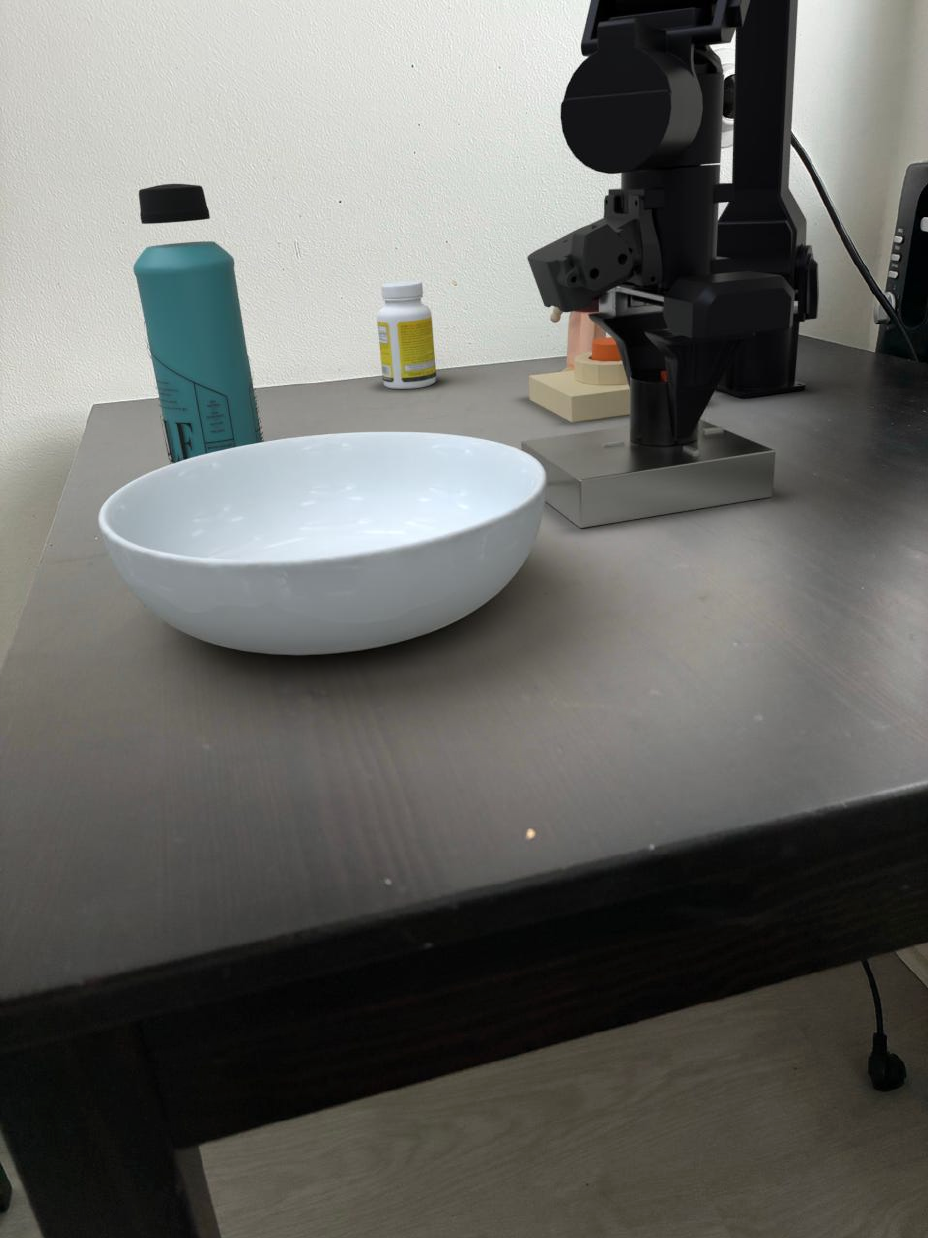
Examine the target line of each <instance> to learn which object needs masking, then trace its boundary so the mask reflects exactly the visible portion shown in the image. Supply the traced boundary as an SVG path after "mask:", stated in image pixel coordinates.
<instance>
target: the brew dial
mask: <svg viewBox="0 0 928 1238" xmlns="http://www.w3.org/2000/svg"><path fill="white" fill-rule="evenodd" d="M629 426H630V439H631V440H632V441H634V442H636V443H640V444H645V445H654V446H671V445H680V444H686V443H689V442H692V441H695V440H696V439H697V438H698V432H699V422H698V424H697V426H696V428H695V429H694V431H693V433H692V435H691V436H690V437H689V438H684V439H676V438H674V437H673V435H672V428H671V421H670V412H669V400H668V387H667V375H666V369H653V370H645V371H640V372H637V373H634V374H632V375H631V377H630V414H629Z"/></svg>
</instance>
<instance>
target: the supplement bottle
mask: <svg viewBox="0 0 928 1238" xmlns="http://www.w3.org/2000/svg"><path fill="white" fill-rule="evenodd" d="M380 287H381V297H382V301H384V306H383V307H381V308H380V309H379V310H378V311H377V314H376V322H377V323H376V324H377V332H378V333H377V334H378V343H379V353H380V354H379V355H380V356H379V357H380V364H381V374H382V383H383V386H384V387H385V388H387V389H392V390H413V389H422V388H425V387H429V386H432V385H433V384H435V383H436V381H437V369H436V356H435V343H434V340H435V339H434V329H433V316H432V311H431V309H430V307H429V306H427V305H426V304H424V303H422V298H423V297H424V290H423V282H422V281H420V280H419V281H418V280H402V281H393V282H386V283H383V284H381V285H380Z"/></svg>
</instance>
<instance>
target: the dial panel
mask: <svg viewBox="0 0 928 1238" xmlns="http://www.w3.org/2000/svg"><path fill="white" fill-rule="evenodd" d="M520 448H521V449H520V450H521V451H524V452H526V453H528V454H530V455H531V456H533V457H534V458H535V459H537V460H538V461H539V462H540V463H541V465H542V466H543V467H544V469H545V471H546V474H547V488H546V497H545V503H547V504H548V505H549V506H551V507H552V508H554V509H555V510H556V511H557V512H558V513H560V514H562V515H563V516H564V517H565V518H566V519H567V520H569V521H571V522H572V523H573V524H574V525H576V526H577V527H578V528H579V529H584V528H592V527H596V526H603V525H609V524H615V523H621V522H627V521H634V520H639V519H640V520H641V519H646V518H652V517H658V516H664V515H670V514H677V513H683V512H688V511H695V510H700V509H706V508H712V507H718V506H719V507H720V506H724V505H730V504H736V503H742V502H748V501H754V500H760V499H761V500H762V499H766V498H767V499H768V498H772V497H773V494H774V493H773V490H774V479H775V478H774V477H775V463H776V450H775V449H772V448H770V447H768V446H766V445H763V444H761V443H758V442H756V441H753V440H751V439H748V438H746V437H744V436H742V435H740V434H737V433H734V432H732V431H730V430H727V429H724V427H723V426H718V425H716V424H713V423H710V422H708V421H706V420H703V419H701V418H700V420H699V432H698V438H697V439H696V440H695V441H692V442H689V443H686V444H680V445H671V446H654V445H645V444H640V443H636V442H634V441H632V440H631V439H630V425H626V426H621V427H620V426H619V427H613V428H606V429H598V430H592V431H591V430H590V431H585V432H577V433H571V434H564V435H563V434H562V435H557V436H548V437H543V438H535V439H534V438H533V439H527V440H521V442H520Z"/></svg>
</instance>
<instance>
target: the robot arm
mask: <svg viewBox="0 0 928 1238" xmlns="http://www.w3.org/2000/svg"><path fill="white" fill-rule="evenodd" d="M798 7H799V0H590V2H589V8H588V12H587V16H586V20H585V24H584V28H583V31H582V32H583V33H582V37H581V40H580V41H581V43H580V53H581V56H583V57H587V58H585V59H584V60H583V61H582V62H581V63H579V66H578V67H577V68H576V69H575V70H574V72H573V73H572V75H571V77H570V79H569V81H568V83H567V86H566V87H565V92H564V95H563V100H562V101H561V103H560V117H559V118H560V124H561V132H562V134H563V136H564V137H563V138H564V139H565V142H566V145H567V147H568V148H569V150H570V151H571V153H572V155H573V156H574V158H576V159H577V160H578V161H579V162H580V163H581V164H582V165H583V166H584V167H586V168H588V169H591V170H592V171H595V172H597V173H601V174H608V175H618V174H620V188H609V189H607V190H608V191H607V192H608V193H607V194H606V195H605V196H604V199H603V218H600V219H598V220H595V221H594V222H592V223H589V224H587V225H584V226H581V227H579V228H578V229H576V230H573V231H572V232H569V233H567V234H566V235H564V236H561V237H560V238H557V239H556V240H553V241H552V242H550V243H548V244H546V245H544V246H541V247H540V248H538V249H536V250H535V251H533V252H531V253H530V254H529V255H527V257H526V259H527V262H528V264H529V268H530V270H531V272H532V275H533V279H534V281H535V285H536V287H537V289H538V292H539V296H540V298H541V300H542V303H543V306H544V307H546V308H548V309H549V308H551V307H553V308H554V307H558V308H559V310H560V311H562V312H563V313H571V312H572V311H576V310H578V309H581V308H583V307H587V306H589V305H590V303H591V301H592V300H599V312H598V313H591V314H588V316H589V318H590V320H591V321H592V322H595V323H596V324H598V325H599V326H600V327H601V328H602V329H603V330H604V331H606V334H608V335H609V337H612V338H613V339H614V340H615V342H616V344H617V347H618V350H619V353H620V356H621V360H622V363H623V366H624V370H625V373H626V377H627V380H628V384H629V387H630V377H631V375H632V374H634V373H637V372H640V371H645V370H653V369H666V375H667V387H668V400H669V412H670V421H671V428H672V435H673V437H674V438H676V439H684V438H689V437H690V436H691V435H692V433H693V431H694V429H695V428H696V426H697V424H698V422H699V420H700V419H701V418H702V416H703V415H704V412H705V411H706V408H707V407H708V405H709V403H710V401H711V399H712V397H713V395H714V393H715V391H716V390H718V391H721V392H724V393H726V394H730V395H732V396H735V397H738V398H744V399H746V398H752V397H753V398H754V397H760V396H768V395H774V394H783V393H789V392H796V391H804V390H806V385H807V384H806V383H804V382H800V381H798V380H796V373H797V361H798V360H797V359H798V348H799V336H800V323H805V322H806V321H811V320H816V319H818V313H819V304H820V303H819V301H820V300H819V299H820V281H819V263H818V262H817V261H816V260H815V257H814V253H813V246H812V245H811V244H807V227H808V222H807V218H806V215H805V214H804V213H803V211H802V209H801V207H800V206H799V205H800V204H799V203H798V202H797V200H796V198H795V196H794V195H793V193H792V192H791V189H790V188H789V187H790V185H789V184H790V169H791V167H790V166H791V165H790V164H791V147H792V124H793V106H794V90H795V89H794V86H795V69H796V50H797V49H796V48H797V30H798V29H797V28H798V10H799V9H798ZM734 35H735V37H734ZM733 37H734V38H735V39H734V40H735V43H734V79H733V81H734V83H733V85H734V86H733V123H732V124H733V125H732V162H731V163H732V165H731V166H732V167H731V182H721V162H722V161H721V160H722V138H723V136H722V135H723V114H724V96H725V95H724V92H725V91H724V89H725V73H724V68H723V63H722V60H721V57H720V56H719V55H718V54H717V53H716V52H715V51H714V49H712V47H711V46H714V45H723V44H730V43H731V42H732V40H733ZM724 203H727V204H726V206H725V208H724V210H723V211H722V213H721V214H720V216H719V207H720V204H724ZM795 302H797V305H795Z"/></svg>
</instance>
